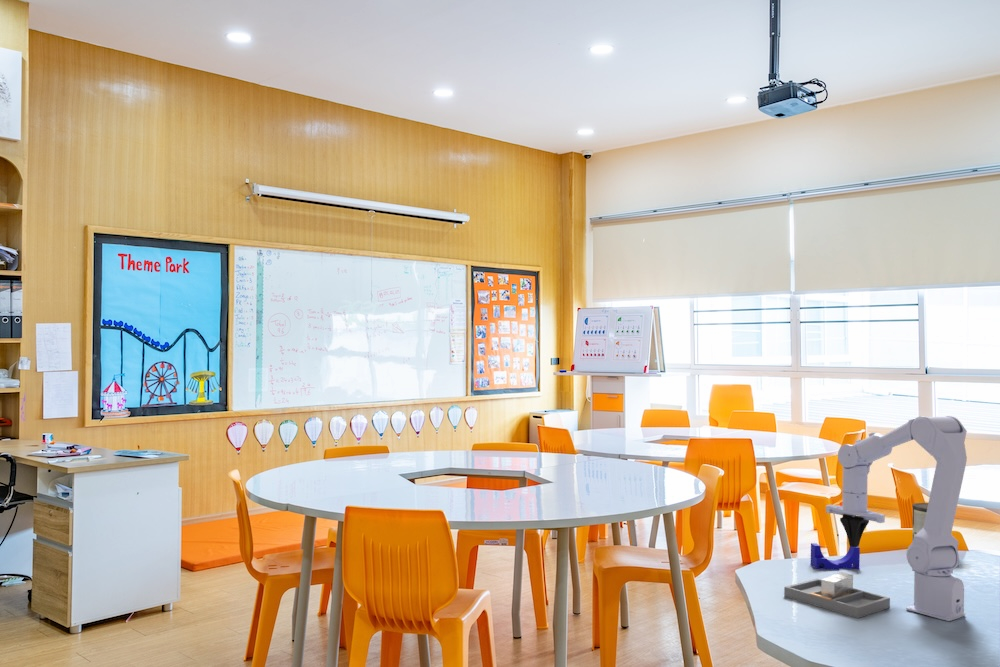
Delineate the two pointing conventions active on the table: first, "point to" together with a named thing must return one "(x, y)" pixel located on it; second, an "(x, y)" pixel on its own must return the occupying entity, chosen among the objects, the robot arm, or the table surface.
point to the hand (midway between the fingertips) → (854, 546)
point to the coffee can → (919, 516)
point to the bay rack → (838, 599)
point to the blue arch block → (845, 562)
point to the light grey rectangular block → (837, 585)
